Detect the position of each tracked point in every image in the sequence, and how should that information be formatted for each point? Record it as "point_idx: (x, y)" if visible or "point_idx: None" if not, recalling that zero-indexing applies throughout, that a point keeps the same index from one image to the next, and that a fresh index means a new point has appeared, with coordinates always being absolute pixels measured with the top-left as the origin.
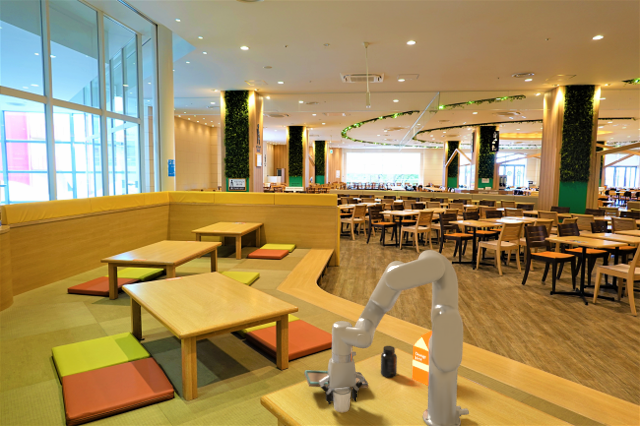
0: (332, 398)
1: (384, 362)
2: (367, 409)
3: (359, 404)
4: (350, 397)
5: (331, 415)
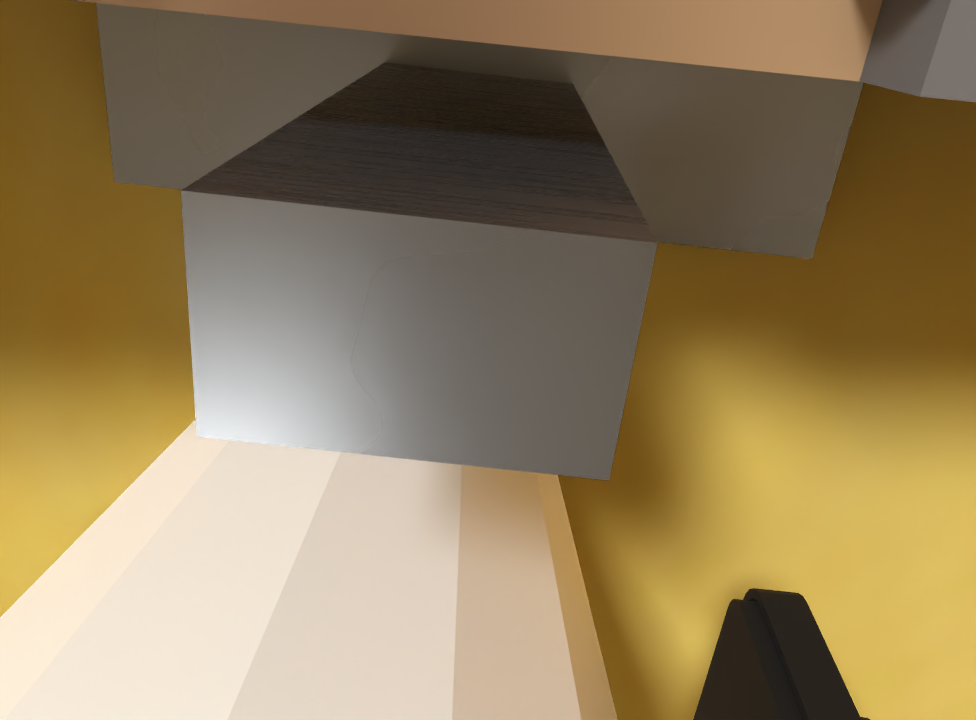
0: (189, 143)
1: None
2: (899, 711)
3: (859, 521)
4: (798, 257)
5: None
